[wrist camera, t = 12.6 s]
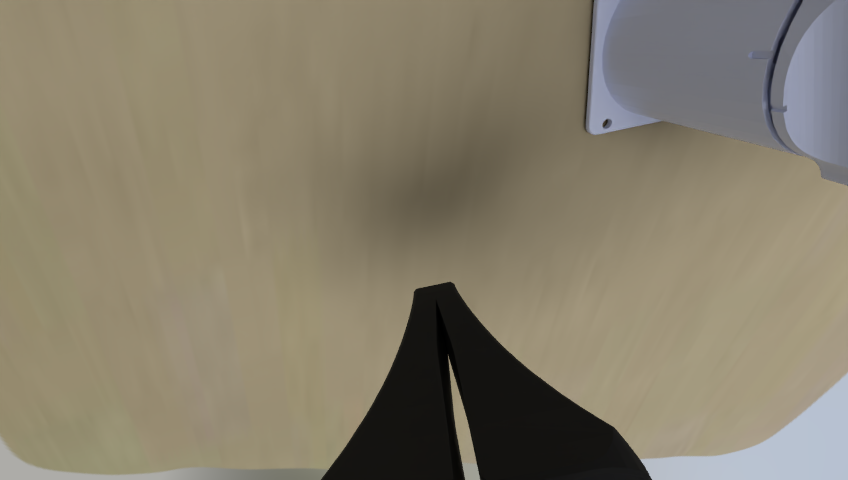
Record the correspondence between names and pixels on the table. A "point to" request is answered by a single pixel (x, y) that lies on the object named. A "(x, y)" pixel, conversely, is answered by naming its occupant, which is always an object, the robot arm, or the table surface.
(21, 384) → the table surface
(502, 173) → the table surface
